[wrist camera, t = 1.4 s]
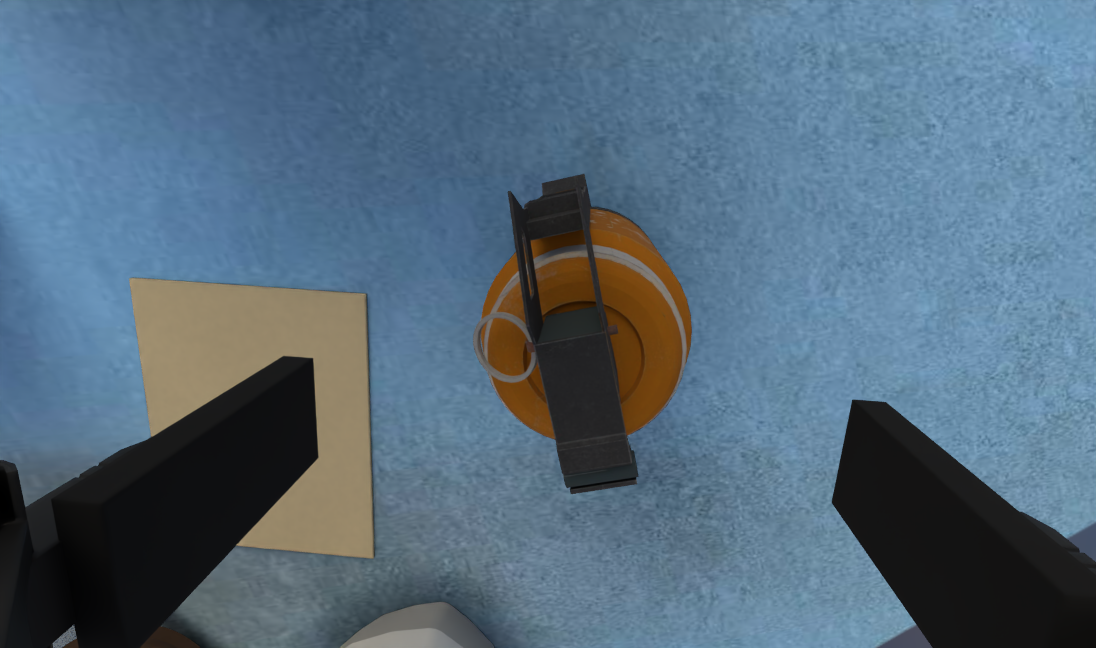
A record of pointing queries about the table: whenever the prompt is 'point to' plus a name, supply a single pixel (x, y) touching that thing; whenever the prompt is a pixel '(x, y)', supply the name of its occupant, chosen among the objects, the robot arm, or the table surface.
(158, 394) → the mat
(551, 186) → the canister
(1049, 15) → the table surface
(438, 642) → the bowl
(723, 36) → the table surface
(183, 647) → the alarm clock
